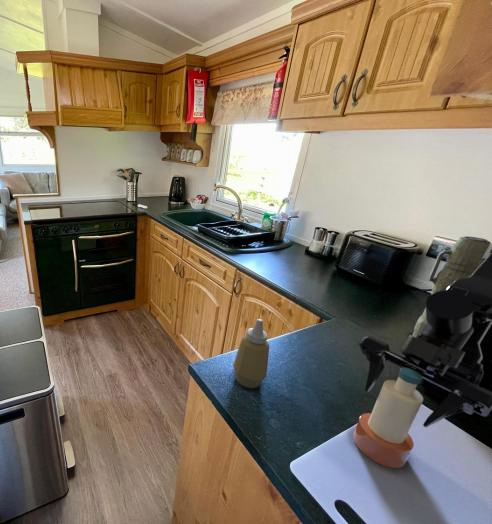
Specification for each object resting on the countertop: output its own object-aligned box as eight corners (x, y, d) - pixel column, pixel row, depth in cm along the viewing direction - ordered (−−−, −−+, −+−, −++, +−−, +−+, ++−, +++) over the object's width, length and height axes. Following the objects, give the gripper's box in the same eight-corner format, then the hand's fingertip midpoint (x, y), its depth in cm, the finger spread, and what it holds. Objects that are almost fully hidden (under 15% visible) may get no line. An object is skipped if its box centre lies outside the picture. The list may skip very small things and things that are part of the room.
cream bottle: (381, 416, 60) (405, 360, 55) (411, 440, 55) (440, 381, 50) (360, 421, 58) (383, 365, 54) (389, 446, 53) (417, 387, 48)
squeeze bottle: (238, 365, 80) (249, 307, 74) (268, 379, 75) (282, 319, 69) (226, 381, 74) (236, 320, 68) (257, 397, 69) (272, 333, 63)
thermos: (458, 355, 88) (513, 245, 76) (408, 341, 94) (451, 237, 82) (450, 341, 95) (500, 239, 83) (404, 329, 101) (444, 232, 89)
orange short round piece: (405, 446, 59) (413, 429, 57) (405, 477, 52) (414, 460, 51) (355, 421, 64) (361, 406, 62) (350, 448, 58) (357, 431, 56)
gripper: (378, 300, 58) (332, 361, 57) (523, 353, 43) (466, 439, 41) (384, 325, 64) (343, 380, 63) (512, 378, 49) (462, 453, 48)
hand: (393, 407), depth 54 cm, fingers open, 9 cm apart
